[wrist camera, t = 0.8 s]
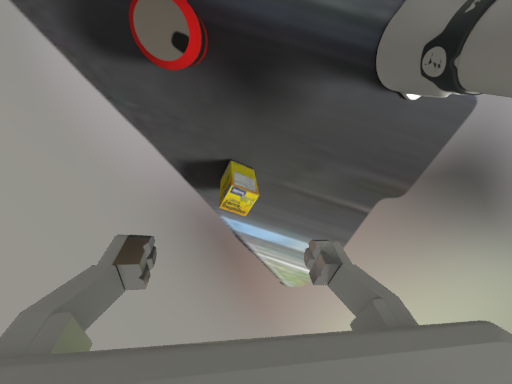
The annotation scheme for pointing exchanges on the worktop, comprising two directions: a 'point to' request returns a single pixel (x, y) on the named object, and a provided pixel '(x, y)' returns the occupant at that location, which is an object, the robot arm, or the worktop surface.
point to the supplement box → (238, 188)
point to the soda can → (168, 32)
